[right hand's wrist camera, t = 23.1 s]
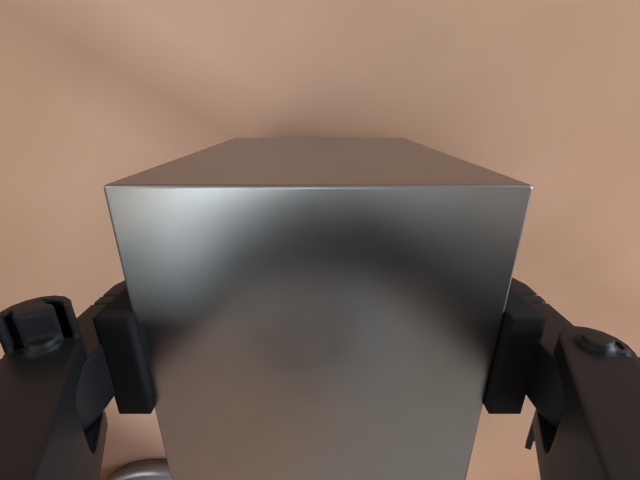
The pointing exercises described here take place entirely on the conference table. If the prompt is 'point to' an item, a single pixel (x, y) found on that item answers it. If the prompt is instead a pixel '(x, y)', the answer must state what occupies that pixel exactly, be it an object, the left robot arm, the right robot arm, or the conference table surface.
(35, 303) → the right robot arm
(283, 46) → the conference table surface
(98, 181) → the conference table surface
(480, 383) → the block
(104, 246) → the conference table surface
